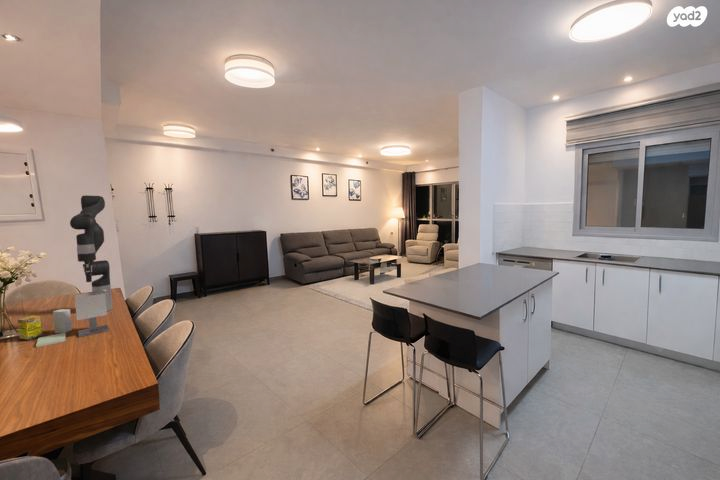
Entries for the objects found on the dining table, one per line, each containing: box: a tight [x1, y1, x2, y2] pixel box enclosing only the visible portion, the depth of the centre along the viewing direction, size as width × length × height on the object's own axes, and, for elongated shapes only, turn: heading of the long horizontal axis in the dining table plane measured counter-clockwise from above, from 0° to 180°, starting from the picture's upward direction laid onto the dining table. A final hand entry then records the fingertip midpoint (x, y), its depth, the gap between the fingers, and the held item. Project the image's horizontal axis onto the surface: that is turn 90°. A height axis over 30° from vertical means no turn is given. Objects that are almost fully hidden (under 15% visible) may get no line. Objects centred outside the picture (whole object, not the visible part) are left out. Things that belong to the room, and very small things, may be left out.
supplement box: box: [17, 315, 43, 342], centre depth 155 cm, size 6×6×11 cm
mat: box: [35, 332, 67, 348], centre depth 152 cm, size 11×10×1 cm
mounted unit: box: [74, 291, 109, 338], centre depth 162 cm, size 9×12×21 cm
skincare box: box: [52, 308, 73, 334], centre depth 163 cm, size 6×4×12 cm
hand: (89, 280), depth 169 cm, fingers open, 8 cm apart
